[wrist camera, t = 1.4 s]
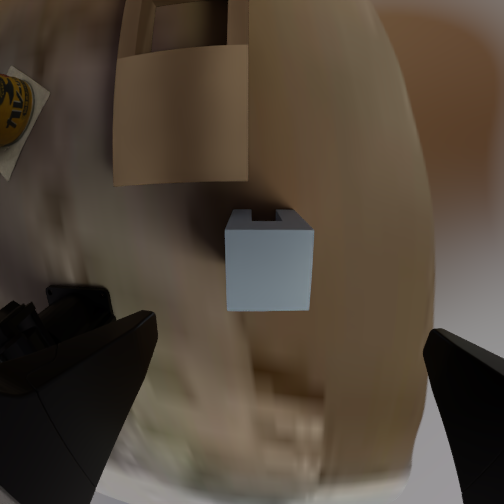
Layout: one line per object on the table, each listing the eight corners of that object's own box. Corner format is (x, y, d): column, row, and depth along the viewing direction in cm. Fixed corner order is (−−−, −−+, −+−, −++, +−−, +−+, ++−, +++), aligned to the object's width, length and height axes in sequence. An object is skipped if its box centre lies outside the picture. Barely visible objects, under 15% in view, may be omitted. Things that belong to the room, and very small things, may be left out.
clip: (234, 267, 21) (227, 310, 14) (233, 209, 20) (224, 229, 13) (291, 267, 21) (308, 309, 14) (293, 209, 20) (314, 230, 13)
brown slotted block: (132, 183, 19) (113, 186, 16) (151, -42, 14) (140, -60, 11) (248, 179, 19) (247, 181, 16) (248, -52, 14) (248, -74, 11)
